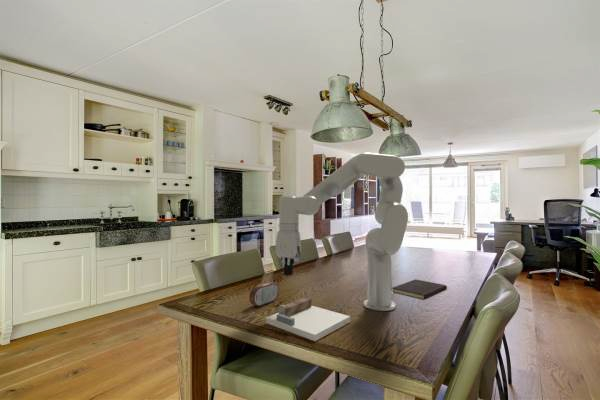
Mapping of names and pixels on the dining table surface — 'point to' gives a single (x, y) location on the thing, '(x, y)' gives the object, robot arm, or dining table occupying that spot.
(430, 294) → the hardcover book
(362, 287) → the dining table surface
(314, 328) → the white flat square panel
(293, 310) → the folding leg
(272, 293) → the tin
